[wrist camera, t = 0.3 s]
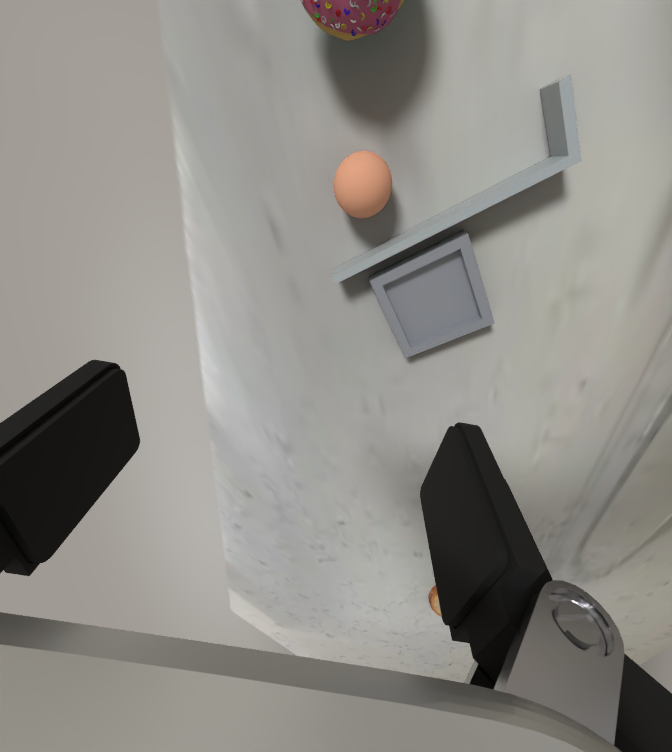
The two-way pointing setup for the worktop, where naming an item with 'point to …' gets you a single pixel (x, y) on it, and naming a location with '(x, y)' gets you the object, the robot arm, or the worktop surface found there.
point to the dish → (433, 295)
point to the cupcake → (352, 16)
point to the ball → (362, 184)
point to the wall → (562, 154)
